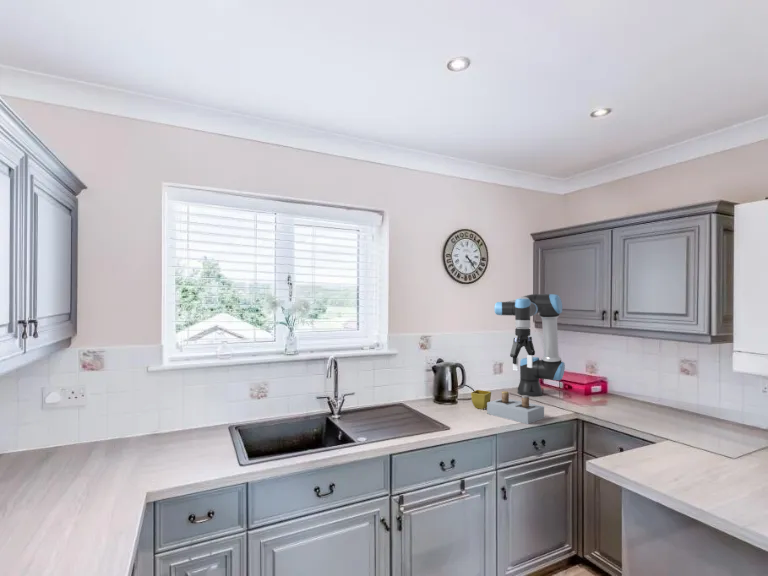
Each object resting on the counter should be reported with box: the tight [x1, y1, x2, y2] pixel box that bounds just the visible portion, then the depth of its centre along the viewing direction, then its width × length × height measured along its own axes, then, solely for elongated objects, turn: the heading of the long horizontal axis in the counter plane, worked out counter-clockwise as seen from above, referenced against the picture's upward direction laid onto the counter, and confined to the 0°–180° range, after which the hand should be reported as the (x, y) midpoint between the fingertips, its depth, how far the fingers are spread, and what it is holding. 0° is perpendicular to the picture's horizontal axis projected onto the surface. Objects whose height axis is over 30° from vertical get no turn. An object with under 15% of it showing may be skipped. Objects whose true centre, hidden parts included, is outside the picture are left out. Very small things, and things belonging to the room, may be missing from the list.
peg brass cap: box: [501, 390, 510, 404], centre depth 228 cm, size 4×4×6 cm
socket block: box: [486, 397, 545, 425], centre depth 224 cm, size 16×24×6 cm, turn 41°
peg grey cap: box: [521, 395, 530, 408], centre depth 219 cm, size 4×4×6 cm
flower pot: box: [470, 389, 492, 410], centre depth 239 cm, size 9×9×9 cm
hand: (522, 369), depth 220 cm, fingers open, 13 cm apart
